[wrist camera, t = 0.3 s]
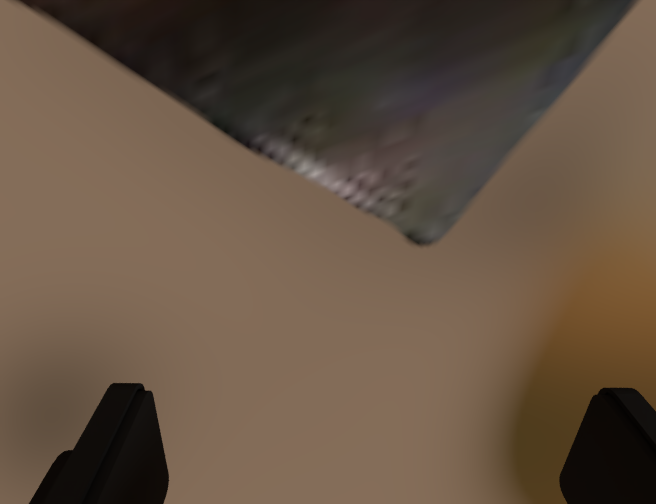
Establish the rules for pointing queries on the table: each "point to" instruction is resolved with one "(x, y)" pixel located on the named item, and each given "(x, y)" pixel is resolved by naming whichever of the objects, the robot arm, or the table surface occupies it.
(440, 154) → the table surface
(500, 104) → the table surface
